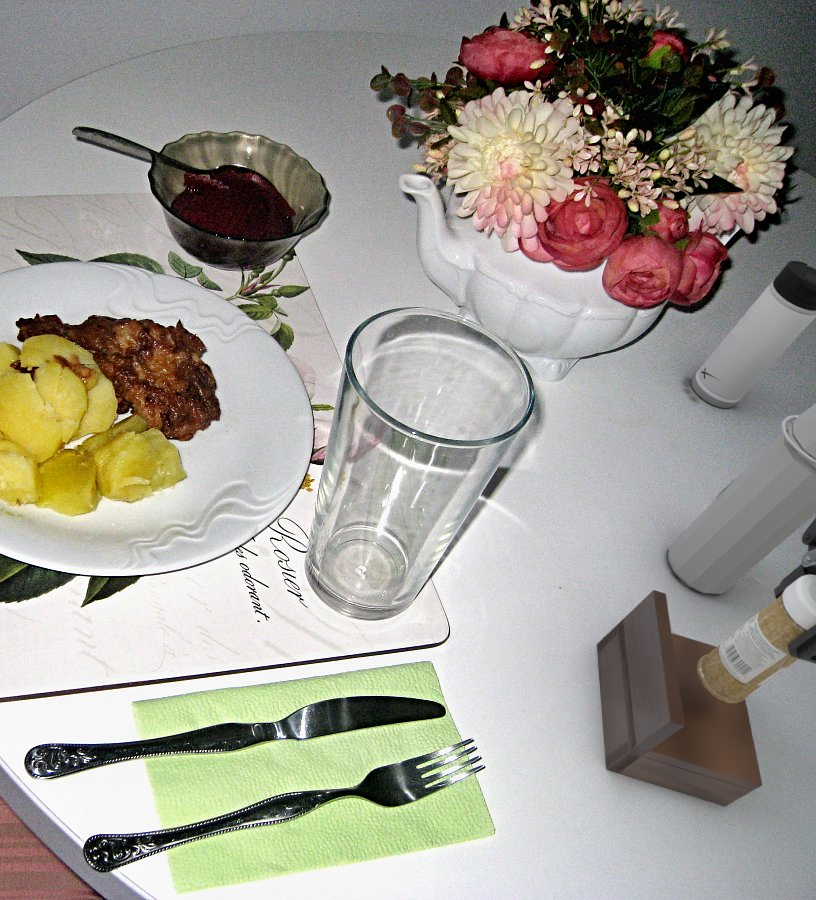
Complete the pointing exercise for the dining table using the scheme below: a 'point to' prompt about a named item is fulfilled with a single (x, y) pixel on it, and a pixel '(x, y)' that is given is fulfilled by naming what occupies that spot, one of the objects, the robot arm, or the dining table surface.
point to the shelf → (670, 711)
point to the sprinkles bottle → (760, 644)
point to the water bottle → (752, 512)
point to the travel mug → (759, 337)
